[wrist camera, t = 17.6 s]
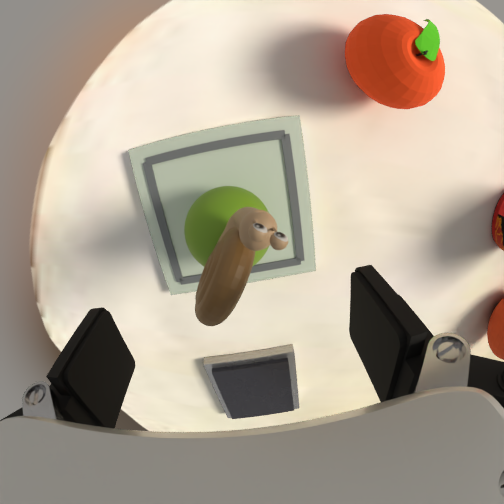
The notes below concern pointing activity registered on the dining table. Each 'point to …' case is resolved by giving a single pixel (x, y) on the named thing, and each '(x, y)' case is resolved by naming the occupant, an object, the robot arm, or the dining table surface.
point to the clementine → (395, 60)
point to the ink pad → (255, 381)
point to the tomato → (497, 330)
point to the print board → (227, 174)
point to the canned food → (499, 223)
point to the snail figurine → (227, 246)
